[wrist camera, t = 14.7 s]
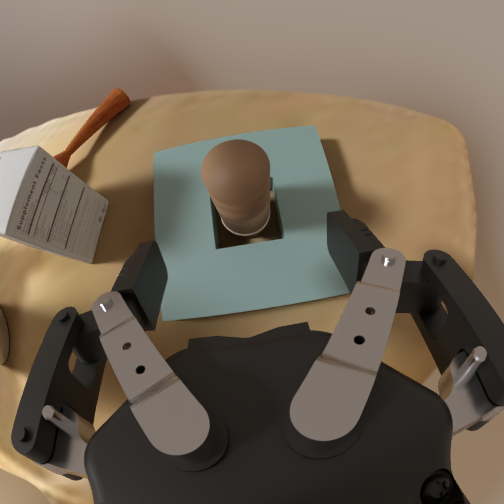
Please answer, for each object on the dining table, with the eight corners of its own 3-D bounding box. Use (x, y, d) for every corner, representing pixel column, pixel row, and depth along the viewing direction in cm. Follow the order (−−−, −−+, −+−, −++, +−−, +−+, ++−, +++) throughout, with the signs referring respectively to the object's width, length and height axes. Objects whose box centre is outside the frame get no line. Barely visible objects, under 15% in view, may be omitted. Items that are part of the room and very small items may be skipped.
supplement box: (51, 254, 25) (-28, 225, 13) (68, 195, 27) (0, 148, 15) (93, 266, 25) (3, 236, 12) (112, 200, 26) (38, 141, 14)
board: (172, 320, 23) (162, 321, 21) (162, 164, 27) (154, 152, 24) (349, 292, 23) (358, 290, 20) (311, 139, 26) (315, 125, 24)
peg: (228, 246, 24) (202, 205, 15) (222, 205, 25) (197, 145, 15) (273, 239, 24) (277, 193, 14) (266, 197, 25) (264, 134, 15)
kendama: (131, 89, 25) (19, 222, 21) (140, 117, 31) (45, 234, 27) (103, 76, 25) (0, 197, 21) (114, 102, 31) (25, 211, 27)
